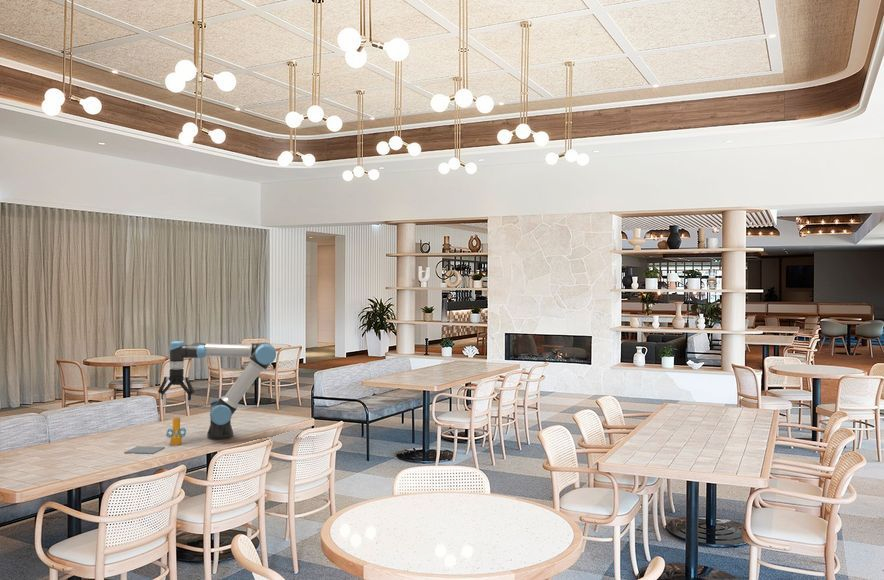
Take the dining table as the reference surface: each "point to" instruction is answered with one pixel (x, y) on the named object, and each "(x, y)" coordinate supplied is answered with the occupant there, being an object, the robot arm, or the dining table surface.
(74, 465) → the dining table surface
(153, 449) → the card
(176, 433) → the orange hollow ringed part
